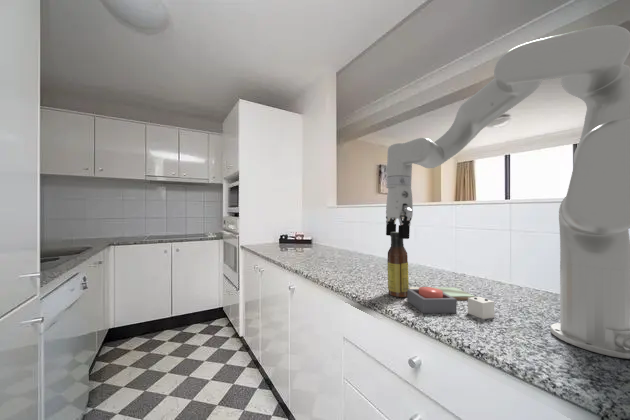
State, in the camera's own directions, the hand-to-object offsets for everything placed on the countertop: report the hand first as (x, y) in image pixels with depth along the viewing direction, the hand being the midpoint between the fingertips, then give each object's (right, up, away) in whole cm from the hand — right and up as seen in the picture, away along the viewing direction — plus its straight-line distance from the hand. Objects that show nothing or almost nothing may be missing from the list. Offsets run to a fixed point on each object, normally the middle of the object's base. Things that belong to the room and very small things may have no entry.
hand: (396, 236), depth 78 cm
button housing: (+6, -18, -10) cm, 22 cm away
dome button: (+6, -17, -10) cm, 20 cm away
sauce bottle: (0, -19, -1) cm, 19 cm away
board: (+14, -19, 0) cm, 23 cm away
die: (+16, -18, -15) cm, 29 cm away
